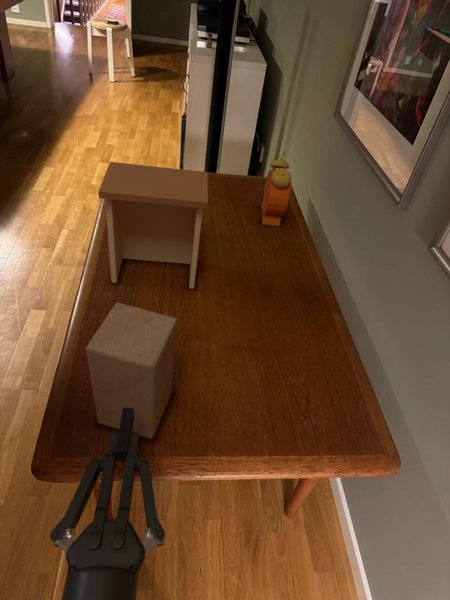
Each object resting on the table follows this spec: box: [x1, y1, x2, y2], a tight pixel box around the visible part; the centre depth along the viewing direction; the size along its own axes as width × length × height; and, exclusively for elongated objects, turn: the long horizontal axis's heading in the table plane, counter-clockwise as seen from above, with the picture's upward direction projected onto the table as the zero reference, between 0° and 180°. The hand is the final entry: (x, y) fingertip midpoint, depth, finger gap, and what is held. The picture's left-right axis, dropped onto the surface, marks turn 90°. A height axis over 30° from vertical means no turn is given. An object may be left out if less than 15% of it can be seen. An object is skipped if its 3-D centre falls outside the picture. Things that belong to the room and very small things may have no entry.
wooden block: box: [85, 302, 178, 439], centre depth 64 cm, size 10×10×20 cm
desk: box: [97, 161, 209, 289], centre depth 90 cm, size 13×21×24 cm, turn 92°
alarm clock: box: [260, 150, 293, 227], centre depth 120 cm, size 13×6×20 cm, turn 179°
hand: (128, 413), depth 58 cm, fingers closed
